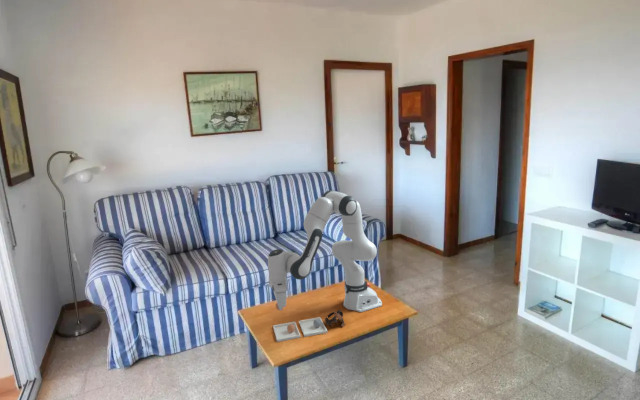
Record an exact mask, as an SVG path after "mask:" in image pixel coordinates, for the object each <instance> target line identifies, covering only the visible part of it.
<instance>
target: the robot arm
mask: <svg viewBox="0 0 640 400" xmlns="http://www.w3.org/2000/svg"><path fill="white" fill-rule="evenodd" d="M333 213H336V214H339V215H341V222H342V232H343V234H344V235H345V237H347V238H348V239H350V240H348V239H347V240H346V239H345V240H337V241H335V242H334V243H333V245H332V247H331V253H332V256H333V257H334V258H335V259H337V260H338V262H340V264H341V266H342V267H343V270H344V279H345V281H344V300H343V304H342V305H343V307H344V308H346V309H347V310H350V311H356V312H359V313H363V312H366V311H369V310H372V309H376V308H380V307H382V306H383V305H382V304H383V302H382V300H381V298H380V297H378V294H377V292H376V291H375V290H374V289H373V288H371V286H372V285H371V284H370V283H369V282H367V280H366V279H365V270H364V267H363V266H361V265H360V264H359V263H357V262H358V261H359V262H369V261H373V260H375V258H376V257H377V255H378V249H377V246H376V245H375V243H373V242H372V241H370V240H369V239H368V237H367V236H366V233H365V232H364V226H363V213H362V209H361V205H360V202H358V200H356V199H355V198H354V197H353V196H352V195H348V194H346V193H344V192H340V191H336V190H330V189H329V190H327V191H325V192H324V193H323V194H322V196H320V197H318V198H317V199H316V200H315V201H314V203H313V204H312V205H311V207H310V209H309V210H308V212H307V213H306V216H305V217H304V220H303V229H304V230H305V232H306V236H307V242H306V244H305V246H304V249H303V251H302V252H301V253H302V254H301V255H299V254H298V253H297V252H294V251H293V252H291V251H290V252H289V251H285V250H283V249H281V248H277V249H274V250H272V251H270V252H269V254H268V256H267V270H268V272H269V273H268V283H269V284H268V285H269V288H271V289H272V292H273V294H274V297H275V300H276V304H278V307H279V310H278V311H283V310H284V308H285V307H286V306H287V291H288V277H287V275H288V274H289V273H290V274H291V276H292V277H294V278H295V279H296V280H299V281H300V280H304V279H306V278H307V277H309V276H310V274H311V271H312V268H313V262H314V259H315V257H316V254H317V252H318V250H319V247H320V245H321V242H322V240H323V239H322V238H323V234H324V230H325V228H326V225H327V224H328V221H329V220H330V217H331V215H332V214H333ZM356 261H357V262H356Z"/></svg>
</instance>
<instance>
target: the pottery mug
mask: <svg viewBox="0 0 640 400" xmlns="http://www.w3.org/2000/svg"><path fill="white" fill-rule="evenodd" d="M326 316H327V317H325V318H324V321H325V324H326V326H333V324H334V323H336V324H338V321H341V322H342V323H340V324H341V325H340V327H341V328H344V327H345V326H346V324H345V321H344V318H343V316H344V313H343V311H342V310H340V309H339V310H337V311H332V312H330V313H328V314H327V315H326ZM331 316H333V317H332V318H331ZM330 318H331V319H330Z"/></svg>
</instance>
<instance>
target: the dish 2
mask: <svg viewBox="0 0 640 400" xmlns="http://www.w3.org/2000/svg"><path fill="white" fill-rule="evenodd" d="M316 319H318V320H320V321H321V325H320V327H315V326H314V324H313V323H314V321H315V320H316ZM298 325H299V326H300V330H301V331H302V334H303V337H304V338H305V337H307V338H308V337H311V336H312V337H313V336H317V335H321V334H328V329H327V327H326V326H325V323H324V322H323V320H322V317H321V316H320V317H313V318H308V319H302V320H298Z"/></svg>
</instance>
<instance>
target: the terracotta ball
mask: <svg viewBox="0 0 640 400" xmlns="http://www.w3.org/2000/svg"><path fill="white" fill-rule="evenodd" d="M287 330H288V331H289V332H293V331H294V330H295V326H294V325H293V324H289V325H288V327H287Z"/></svg>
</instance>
